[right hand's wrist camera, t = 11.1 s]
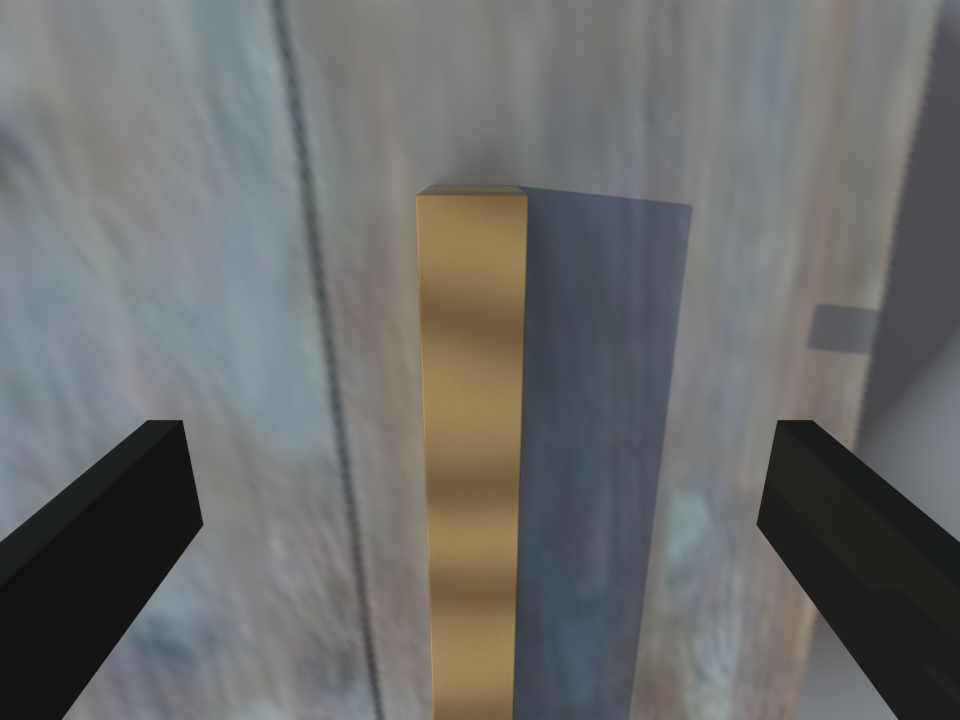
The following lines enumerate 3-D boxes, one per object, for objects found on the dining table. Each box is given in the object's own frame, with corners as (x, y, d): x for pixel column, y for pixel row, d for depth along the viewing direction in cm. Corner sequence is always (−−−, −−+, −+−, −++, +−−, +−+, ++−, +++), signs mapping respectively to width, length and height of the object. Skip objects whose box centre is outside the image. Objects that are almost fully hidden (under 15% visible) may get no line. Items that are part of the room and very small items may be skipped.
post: (429, 185, 31) (415, 194, 24) (517, 185, 31) (528, 194, 24) (447, 890, 51) (443, 1010, 44) (500, 890, 51) (504, 1010, 44)
